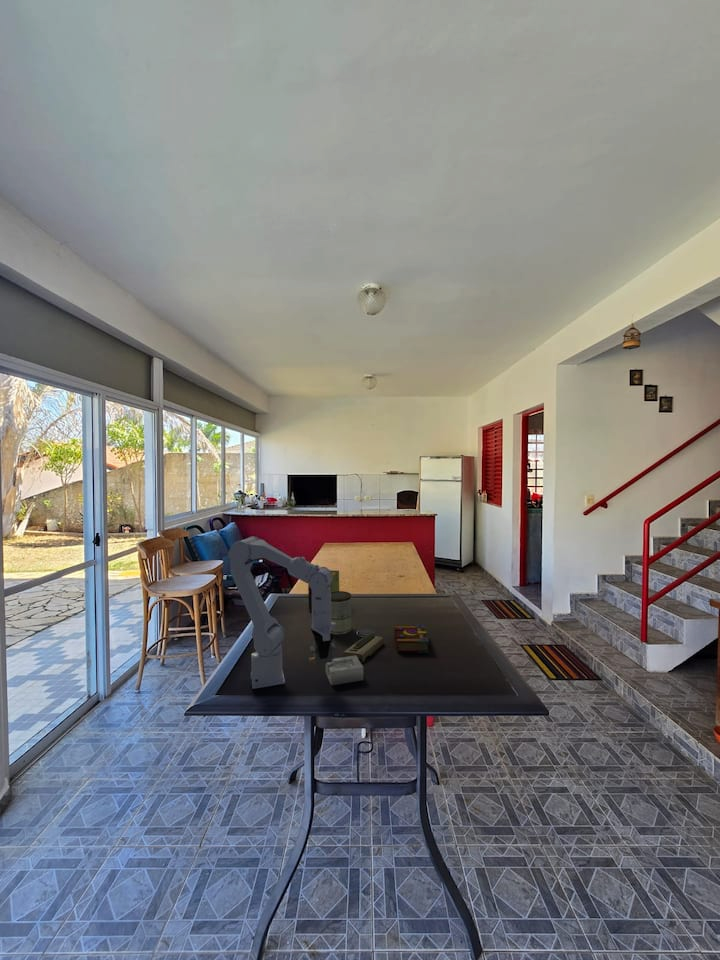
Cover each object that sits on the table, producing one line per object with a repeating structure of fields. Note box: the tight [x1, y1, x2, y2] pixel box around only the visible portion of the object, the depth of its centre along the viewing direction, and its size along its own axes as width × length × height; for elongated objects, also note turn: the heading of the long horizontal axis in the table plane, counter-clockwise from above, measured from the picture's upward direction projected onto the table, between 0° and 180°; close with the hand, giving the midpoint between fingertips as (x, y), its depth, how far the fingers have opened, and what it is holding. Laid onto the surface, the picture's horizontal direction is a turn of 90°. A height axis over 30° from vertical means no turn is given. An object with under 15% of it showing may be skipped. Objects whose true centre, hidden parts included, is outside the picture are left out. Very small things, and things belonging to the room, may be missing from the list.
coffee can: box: [330, 590, 352, 635], centre depth 158 cm, size 10×10×14 cm
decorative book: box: [394, 624, 430, 654], centre depth 144 cm, size 11×16×5 cm
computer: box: [342, 635, 385, 663], centre depth 139 cm, size 16×8×3 cm, turn 150°
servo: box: [308, 642, 337, 665], centre depth 116 cm, size 8×3×6 cm, turn 106°
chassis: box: [325, 655, 364, 686], centre depth 122 cm, size 10×8×4 cm
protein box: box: [307, 569, 340, 610], centre depth 186 cm, size 10×15×16 cm
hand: (322, 655), depth 117 cm, fingers closed on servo, 3 cm apart
